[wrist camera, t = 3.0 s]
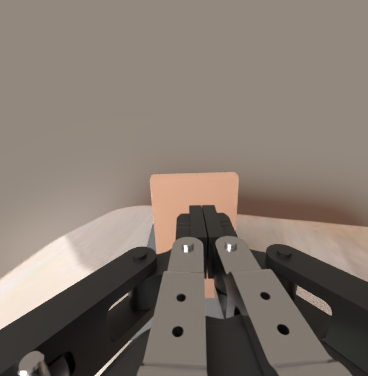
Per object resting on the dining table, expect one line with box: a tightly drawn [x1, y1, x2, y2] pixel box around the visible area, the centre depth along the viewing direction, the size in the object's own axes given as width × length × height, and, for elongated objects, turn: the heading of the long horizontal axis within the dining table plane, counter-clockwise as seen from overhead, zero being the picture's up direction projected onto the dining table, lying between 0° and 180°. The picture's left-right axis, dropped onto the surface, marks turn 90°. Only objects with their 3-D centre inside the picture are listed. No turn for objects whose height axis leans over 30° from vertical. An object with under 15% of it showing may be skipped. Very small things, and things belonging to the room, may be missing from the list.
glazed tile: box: [150, 172, 239, 298], centre depth 26 cm, size 2×9×16 cm, turn 90°
